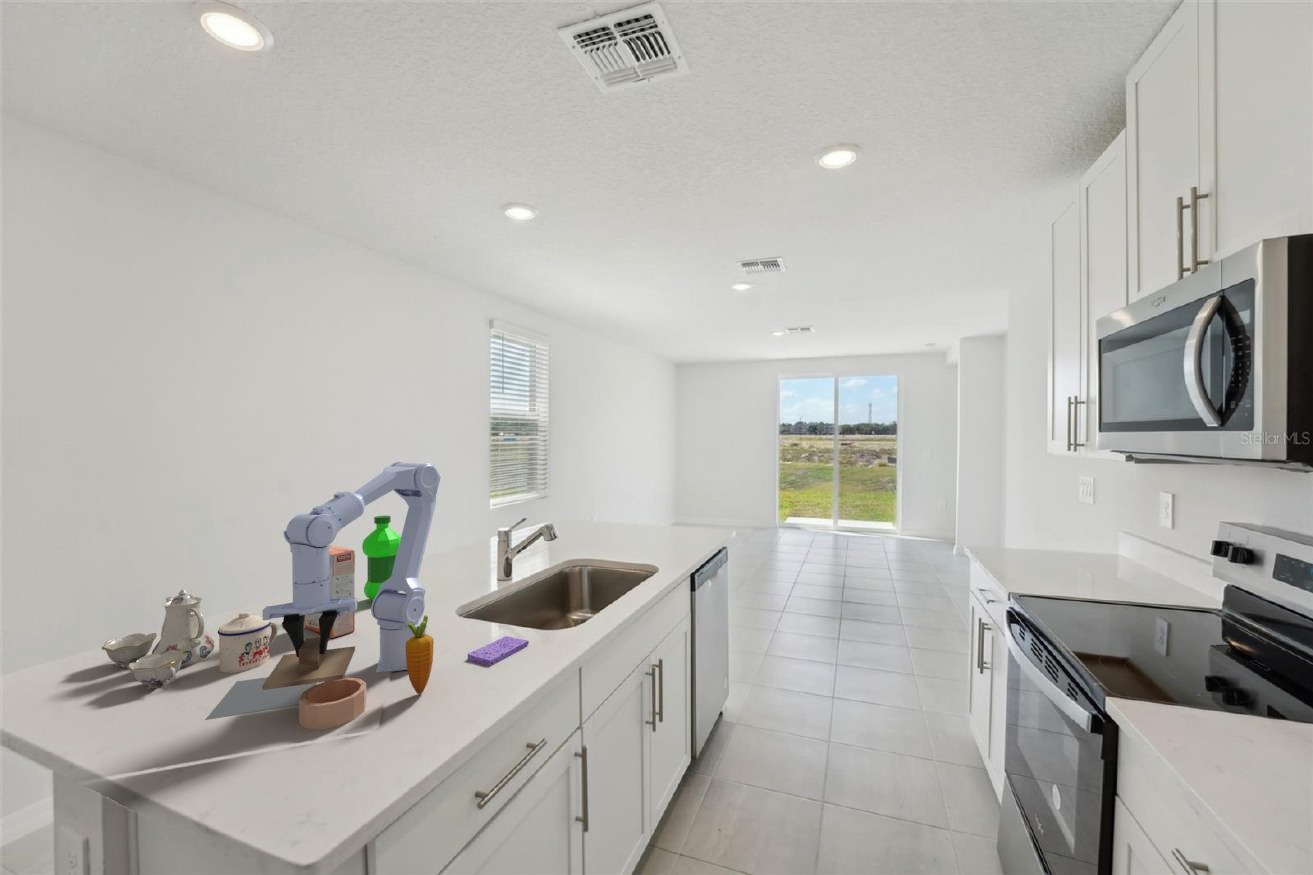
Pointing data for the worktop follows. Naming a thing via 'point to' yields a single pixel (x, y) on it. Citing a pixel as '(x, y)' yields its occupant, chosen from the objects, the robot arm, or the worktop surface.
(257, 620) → the teacup with lid
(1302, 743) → the worktop surface
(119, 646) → the chinaware
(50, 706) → the worktop surface
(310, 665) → the walnut lid
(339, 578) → the cracker box
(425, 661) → the carrot
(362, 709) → the terracotta bowl
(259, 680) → the rubber mat
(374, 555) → the plastic bottle
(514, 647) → the sponges
